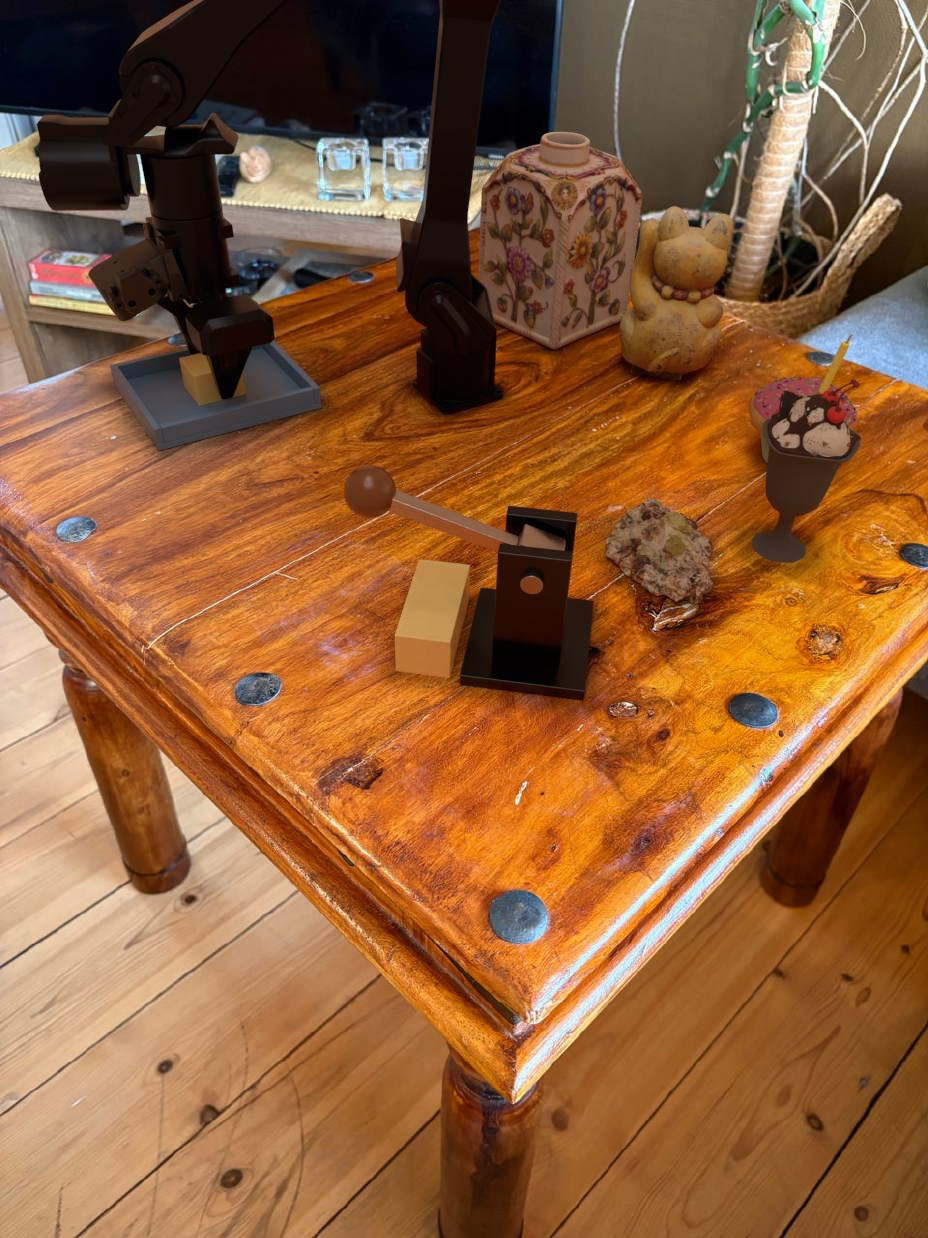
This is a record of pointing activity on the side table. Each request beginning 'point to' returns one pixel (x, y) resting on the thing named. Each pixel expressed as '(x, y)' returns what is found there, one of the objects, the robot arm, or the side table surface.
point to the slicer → (531, 617)
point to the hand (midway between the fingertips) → (214, 382)
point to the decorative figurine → (675, 295)
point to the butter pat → (203, 380)
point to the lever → (432, 513)
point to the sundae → (802, 464)
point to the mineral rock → (662, 551)
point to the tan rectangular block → (432, 618)
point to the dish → (181, 420)
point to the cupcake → (770, 394)
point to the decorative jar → (558, 239)
